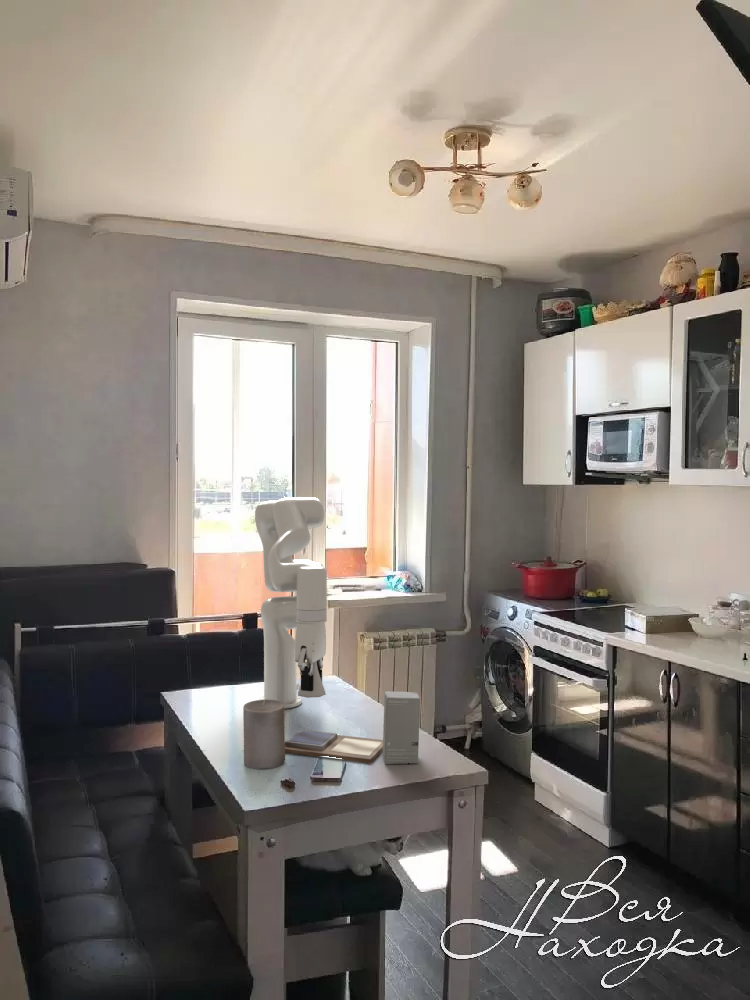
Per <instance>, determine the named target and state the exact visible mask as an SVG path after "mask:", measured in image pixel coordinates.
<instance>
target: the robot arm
mask: <svg viewBox="0 0 750 1000" xmlns="http://www.w3.org/2000/svg"><path fill="white" fill-rule="evenodd" d="M324 508H325V507H324V505H323V502H321V500H320V499H318V498H316V497H310V496H309V497H306V496H305V497H302V496H301V497H300V496H298V497H293V496H292V497H284V498H280V499H278V500H268V501H263V502H260V503H259V504H257V505H256V507H255V511H254V521H255V526H256V530H257V533H258V536H259V538H260V541H261V544H262V548H263V550H262V552H263V553H262V554H263V555H262V556H263V571H264V573H263V575H264V583H265V587H266V589H267V591H270V592H272V593H291V592H292V593H294V592H296V595H294V596H292V595H289V596H288V595H287V596H275V597H271V598H266V600H264V602H262V604H261V607H260V617H261V622H262V629H263V630H262V631H263V652H264V653H263V656H264V657H263V663H264V664H263V667H264V668H263V680H264V682H263V685H264V687H263V688H264V689H263V694H264V695H263V696H262V697H259V699H258V700H276V701H280V702H282V703H283V704H284V710H285V709H291V708H296V707H298V706H300V705H301V704H302V703H303V699H302V697H301V696H298V692H297V690H298V691H299V688H300V685H301V690H302V691H313V683H314V675H312V669H313V663H314V662H316V661H317V667H318V672H319V675H320V678H321V681H322V682H323V667H324V664H323V661H324V657H325V655H326V654H327V637H326V636H327V633H326V632H327V631H326V622H327V620H328V619H327V618H328V615H327V613H328V612H327V610H328V603H327V601H328V597H327V596H328V593H327V592H328V591H327V590H328V589H327V588H328V587H327V586H328V573H327V569H326V568H325V567H324V565H323V564H322V563H320V562H318V561H312V560H310V559H293V555H295V554H296V553H300V552H301V551H303V550H305V548H306V547H307V546H308V545H310V544H309V543H310V541H311V534H310V531H309V529H316V528H319V527H320V526H322V525H323V524H324V521H325V509H324ZM293 629H294V630H295V637H293V636H292V635H291V634H290V633H289V630H293ZM294 638H295V639H294ZM307 660H309V662H307ZM306 665H309V669H308V667H307V666H306ZM297 667H298V669H299V675H300V684H299V683H298V682H297V680H298V679H297V674H298V673H297Z"/></svg>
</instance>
